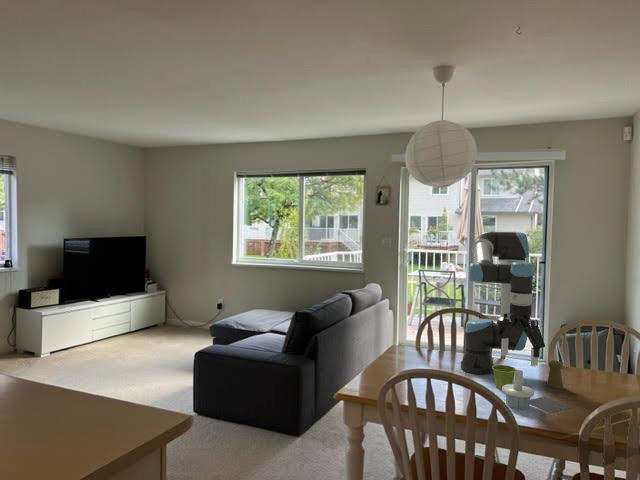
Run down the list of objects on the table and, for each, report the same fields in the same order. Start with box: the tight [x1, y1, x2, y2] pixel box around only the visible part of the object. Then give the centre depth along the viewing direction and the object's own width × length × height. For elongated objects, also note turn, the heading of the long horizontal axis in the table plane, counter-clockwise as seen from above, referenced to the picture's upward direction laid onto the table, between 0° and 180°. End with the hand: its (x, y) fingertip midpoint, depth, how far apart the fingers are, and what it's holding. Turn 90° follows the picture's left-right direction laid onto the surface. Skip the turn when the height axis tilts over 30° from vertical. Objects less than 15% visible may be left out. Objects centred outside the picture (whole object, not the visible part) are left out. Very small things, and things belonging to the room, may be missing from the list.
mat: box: [530, 396, 573, 414], centre depth 178 cm, size 12×12×1 cm
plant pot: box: [492, 364, 517, 391], centre depth 196 cm, size 9×9×9 cm
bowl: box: [505, 393, 531, 411], centre depth 177 cm, size 8×8×6 cm
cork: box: [546, 359, 564, 390], centre depth 199 cm, size 6×6×11 cm
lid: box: [501, 369, 535, 398], centre depth 177 cm, size 11×11×8 cm
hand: (518, 360), depth 177 cm, fingers open, 13 cm apart
